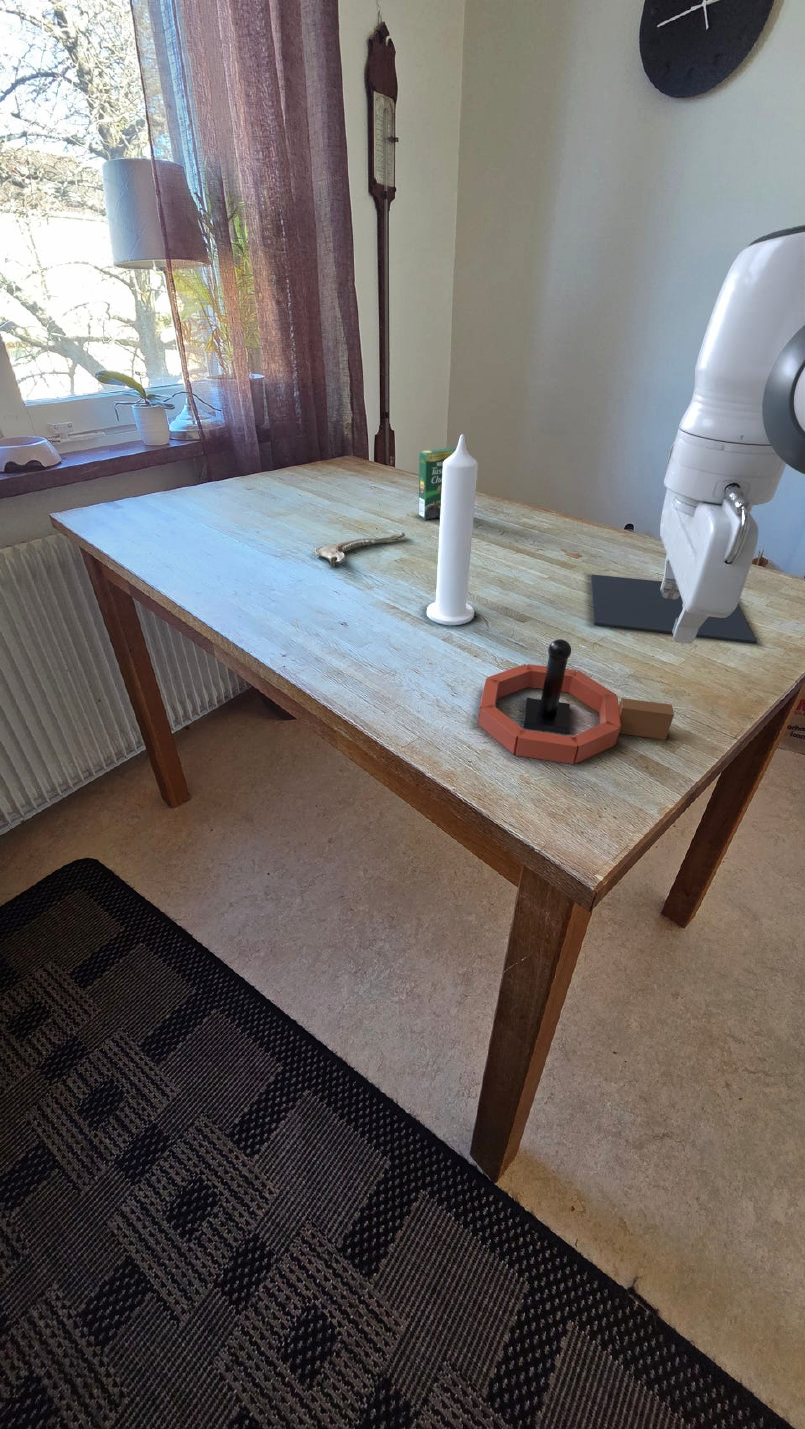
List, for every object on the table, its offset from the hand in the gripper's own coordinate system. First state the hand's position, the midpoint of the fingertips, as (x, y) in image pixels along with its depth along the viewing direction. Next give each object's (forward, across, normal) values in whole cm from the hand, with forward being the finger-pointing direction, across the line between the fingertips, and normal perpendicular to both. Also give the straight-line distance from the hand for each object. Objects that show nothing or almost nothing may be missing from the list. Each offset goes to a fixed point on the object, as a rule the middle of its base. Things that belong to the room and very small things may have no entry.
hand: (674, 616), depth 59 cm
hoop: (+14, 0, +7) cm, 16 cm away
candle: (+15, +23, +25) cm, 37 cm away
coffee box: (+15, +67, +35) cm, 77 cm away
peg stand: (+14, 0, +10) cm, 18 cm away
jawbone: (+15, +43, +43) cm, 63 cm away
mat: (+14, +34, -7) cm, 37 cm away
